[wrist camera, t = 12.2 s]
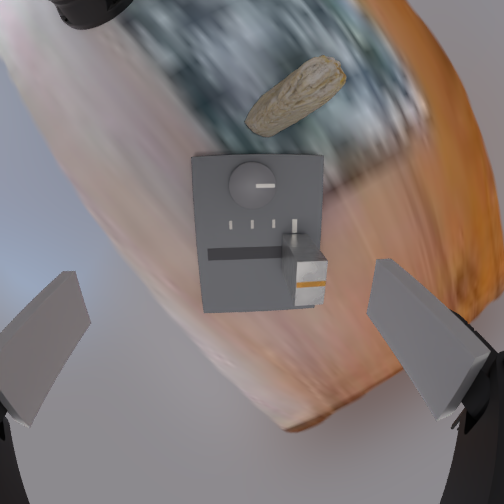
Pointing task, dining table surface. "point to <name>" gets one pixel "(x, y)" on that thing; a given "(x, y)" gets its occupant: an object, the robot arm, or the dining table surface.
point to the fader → (303, 269)
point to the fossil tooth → (296, 96)
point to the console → (252, 225)
